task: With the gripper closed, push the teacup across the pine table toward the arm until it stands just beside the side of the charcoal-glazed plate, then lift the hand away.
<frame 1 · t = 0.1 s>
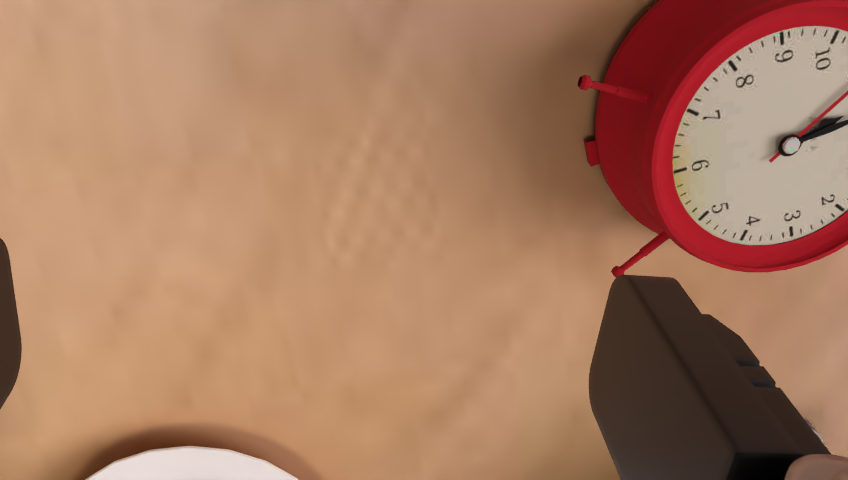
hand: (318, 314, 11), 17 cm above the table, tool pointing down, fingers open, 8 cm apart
alarm clock: (778, 92, 28), on the table
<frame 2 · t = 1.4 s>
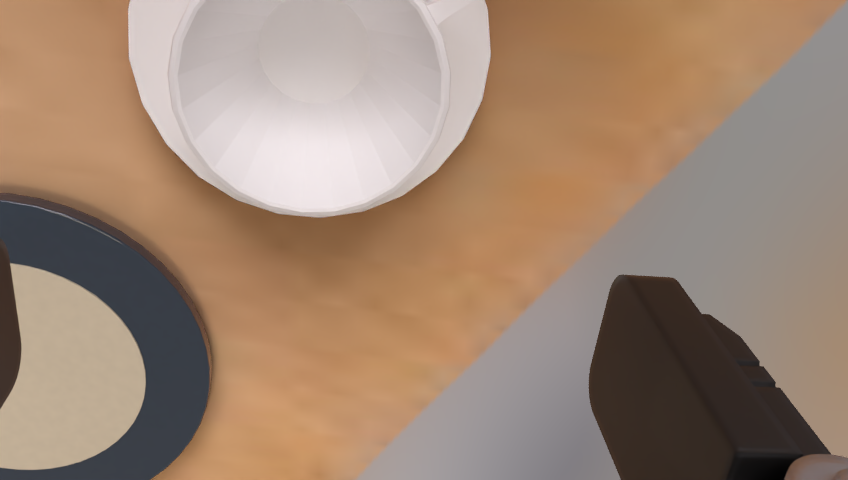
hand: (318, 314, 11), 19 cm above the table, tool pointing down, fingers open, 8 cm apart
plate: (24, 353, 32), on the table
teacup: (314, 45, 28), on the table
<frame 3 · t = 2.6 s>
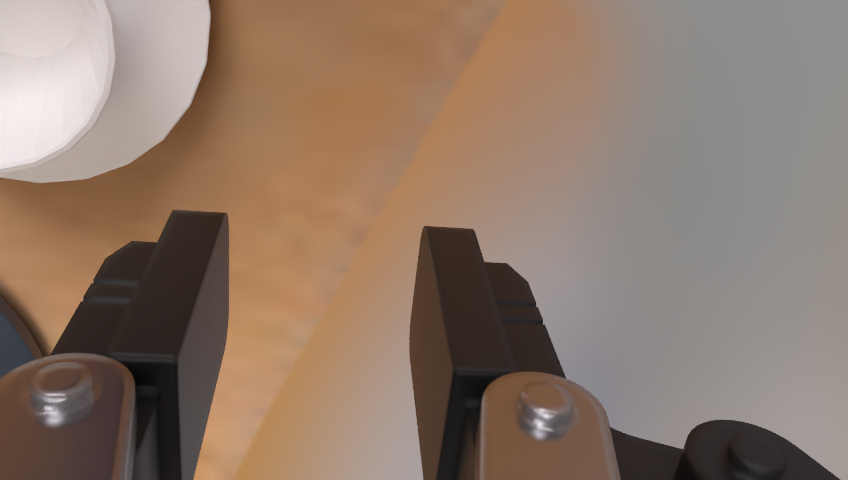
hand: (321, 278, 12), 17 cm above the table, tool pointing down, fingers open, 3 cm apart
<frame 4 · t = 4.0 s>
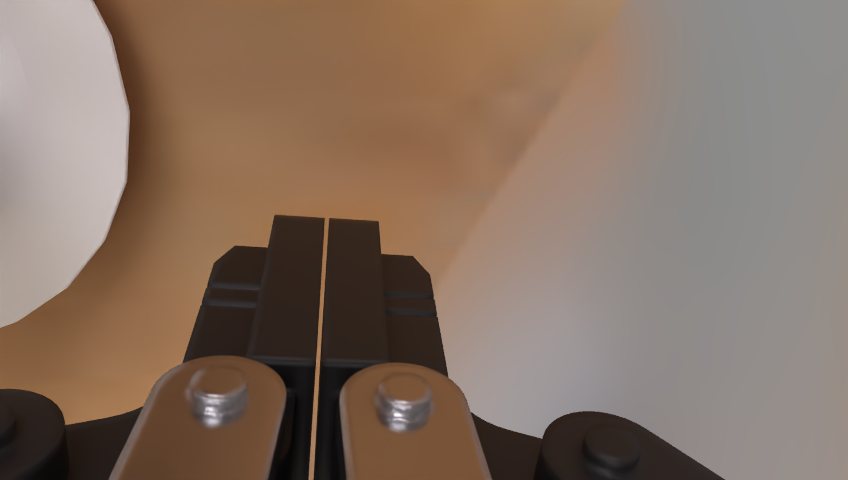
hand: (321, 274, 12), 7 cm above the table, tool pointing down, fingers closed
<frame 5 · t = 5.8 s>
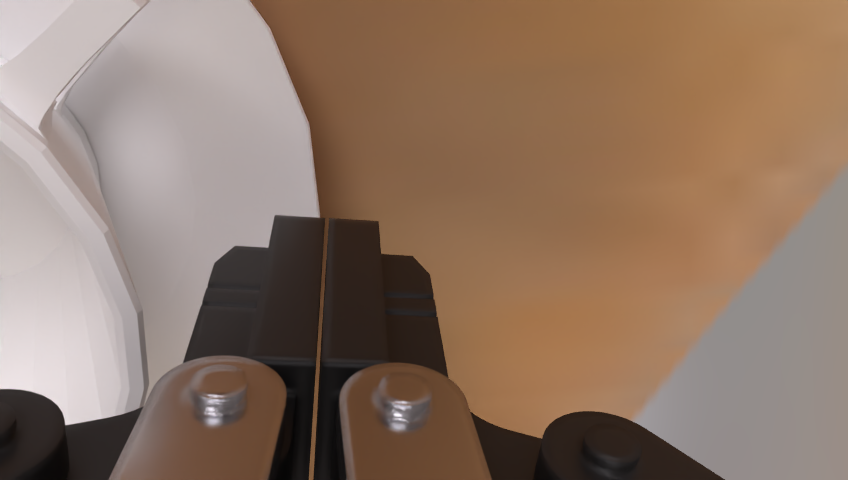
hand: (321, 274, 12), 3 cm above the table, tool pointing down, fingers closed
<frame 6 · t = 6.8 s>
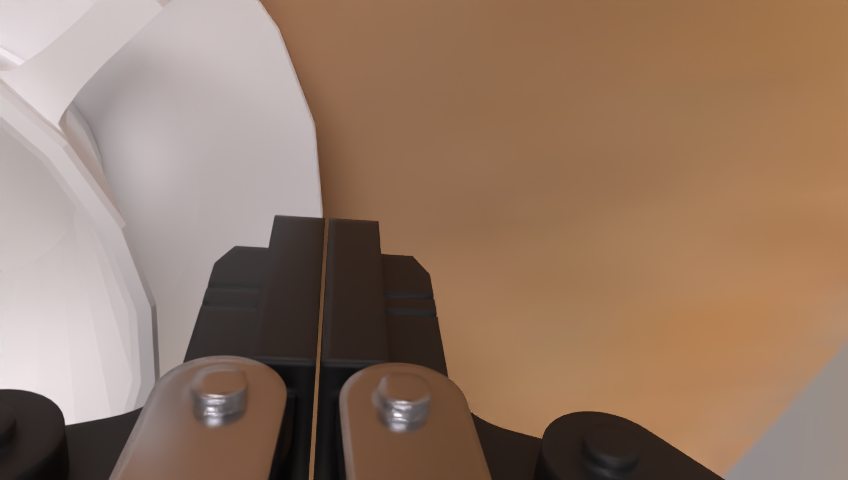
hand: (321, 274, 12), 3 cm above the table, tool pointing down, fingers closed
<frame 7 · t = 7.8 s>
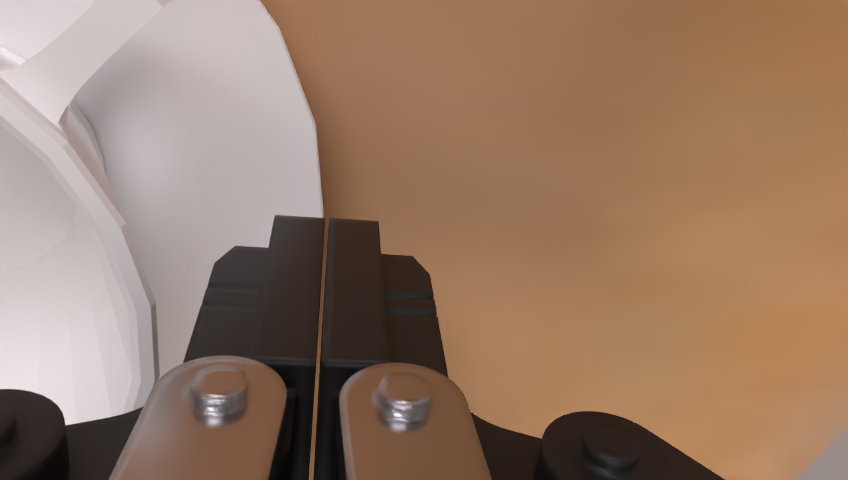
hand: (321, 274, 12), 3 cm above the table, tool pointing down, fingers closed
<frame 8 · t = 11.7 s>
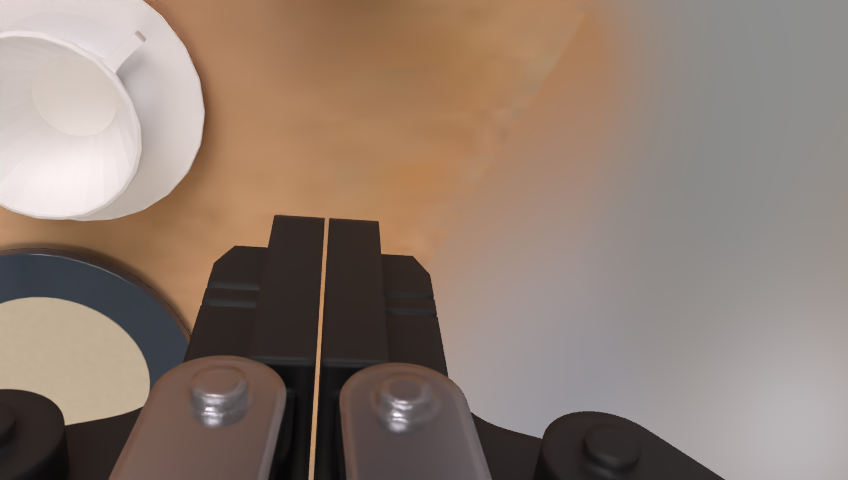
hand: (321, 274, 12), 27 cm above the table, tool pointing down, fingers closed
plate: (62, 361, 44), on the table
teacup: (79, 92, 37), on the table
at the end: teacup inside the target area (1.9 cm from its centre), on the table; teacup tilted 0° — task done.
